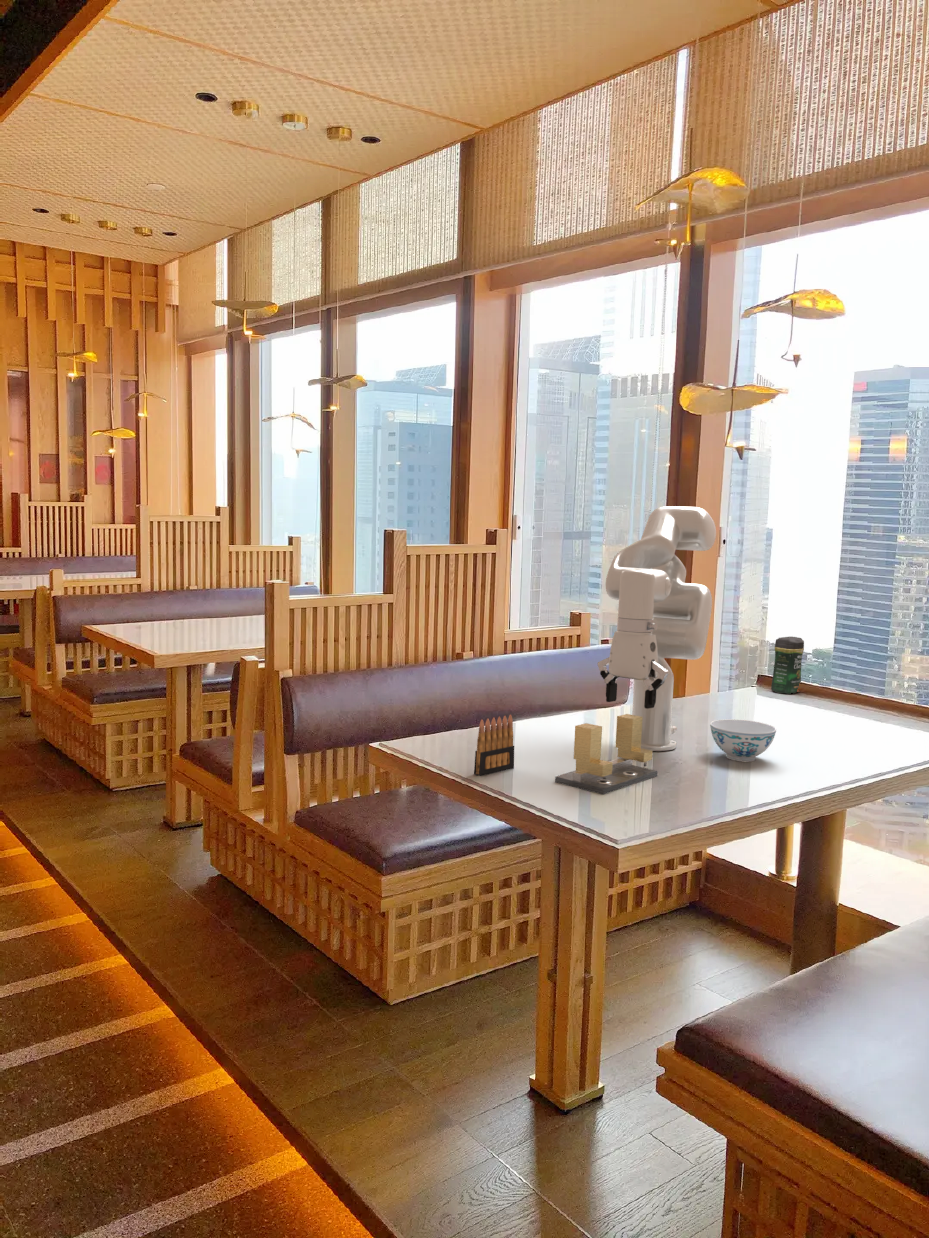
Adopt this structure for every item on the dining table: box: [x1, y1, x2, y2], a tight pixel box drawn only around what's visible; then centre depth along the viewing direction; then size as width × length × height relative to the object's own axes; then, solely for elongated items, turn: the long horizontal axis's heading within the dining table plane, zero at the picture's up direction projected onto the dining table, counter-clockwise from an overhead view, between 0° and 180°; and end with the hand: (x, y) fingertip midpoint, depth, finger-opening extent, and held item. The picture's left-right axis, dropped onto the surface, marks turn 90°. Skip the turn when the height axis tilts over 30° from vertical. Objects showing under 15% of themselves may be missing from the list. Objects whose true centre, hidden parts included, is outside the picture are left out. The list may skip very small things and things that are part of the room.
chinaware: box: [709, 718, 777, 763], centre depth 232 cm, size 15×15×8 cm
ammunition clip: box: [473, 714, 515, 777], centre depth 212 cm, size 11×2×12 cm, turn 134°
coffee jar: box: [770, 636, 805, 695], centre depth 325 cm, size 10×8×19 cm
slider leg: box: [615, 713, 654, 767], centre depth 216 cm, size 4×7×10 cm, turn 49°
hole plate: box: [554, 722, 658, 795], centre depth 209 cm, size 21×12×12 cm, turn 139°
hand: (629, 704), depth 215 cm, fingers open, 9 cm apart
